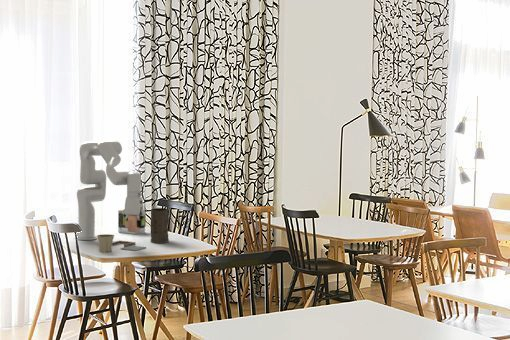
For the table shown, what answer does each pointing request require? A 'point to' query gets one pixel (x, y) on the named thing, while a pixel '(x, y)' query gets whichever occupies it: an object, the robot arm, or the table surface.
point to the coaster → (133, 248)
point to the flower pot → (105, 242)
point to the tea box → (124, 229)
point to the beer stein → (159, 225)
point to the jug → (132, 224)
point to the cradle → (126, 243)
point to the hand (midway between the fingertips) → (133, 226)
